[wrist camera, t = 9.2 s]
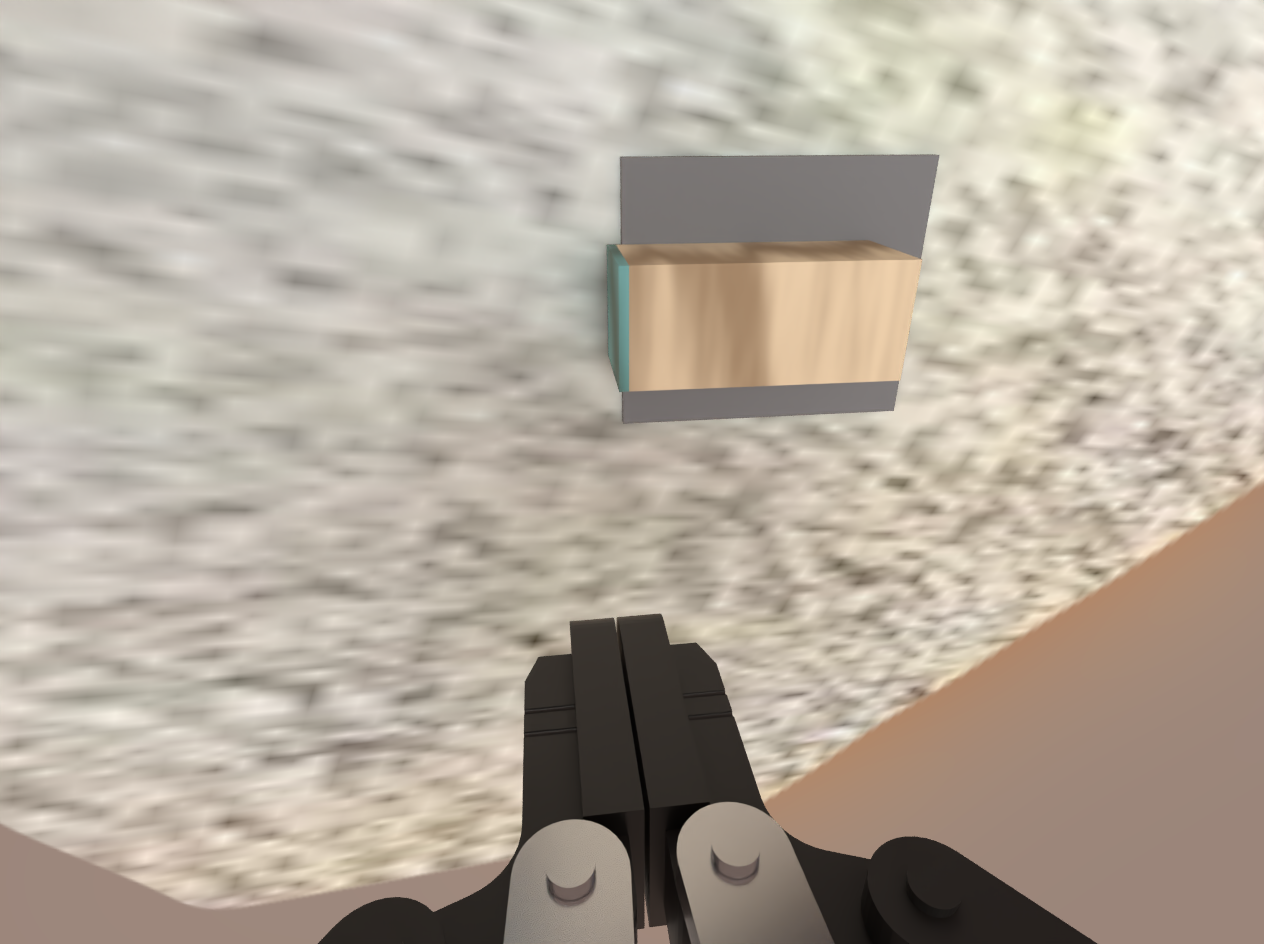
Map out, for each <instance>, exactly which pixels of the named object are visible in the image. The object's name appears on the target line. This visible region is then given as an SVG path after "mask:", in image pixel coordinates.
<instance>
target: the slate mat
mask: <svg viewBox="0 0 1264 944" xmlns="http://www.w3.org/2000/svg"><path fill="white" fill-rule="evenodd" d="M938 160H939V155H813V156H667V157H621V245H626V244H683V243H740V242H796V241H853V240H870V241H872V242H875V243H878V244H881V245H883V246H886V247H889V248H892V249H895V250H897V251H900V252H903V253H906V254H908V255H911V256H914V257H917V258H920V259H921V255H922V250H923V244H924V238H925V233H926V227H927V222H928V216H929V210H930V205H931V199H932V194H933V188H934V182H935V177H936V171H937V166H938ZM898 384H899V381H878V382H853V383H828V384H803V385H778V386H754V387H729V388H704V389H679V390H654V391H630V392H622V412H623V424H624V423H645V422H666V421H687V420H708V419H729V418H750V417H771V416H793V415H814V414H835V413H856V412H877V411H894V406H895V401H896V395H897V389H898Z"/></svg>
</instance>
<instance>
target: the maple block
mask: <svg viewBox="0 0 1264 944" xmlns="http://www.w3.org/2000/svg"><path fill="white" fill-rule="evenodd" d="M921 263H922V259H920V258H917V257H914V256H911V255H908V254H906V253H903V252H900V251H897V250H895V249H892V248H889V247H886V246H883V245H881V244H878V243H875V242H872V241H870V240H853V241H796V242H740V243H683V244H626V245H607V291H608V356H609V359H610V362H611V366H612V369H613V372H614V376H615V379H616V382H617V386H618V389H619V392H630V391H654V390H679V389H704V388H729V387H754V386H778V385H803V384H828V383H853V382H878V381H900V379H901V373H902V368H903V362H904V357H905V351H906V346H907V340H908V335H909V329H910V324H911V318H912V313H913V307H914V302H915V296H916V291H917V285H918V280H919V274H920V269H921Z"/></svg>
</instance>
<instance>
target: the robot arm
mask: <svg viewBox="0 0 1264 944" xmlns="http://www.w3.org/2000/svg"><path fill="white" fill-rule="evenodd" d="M570 635H571V652H572V654H566V655H555V656H544V657H538V659H537V661H536V663H535V665H534V666H533V668H532V670H531V672H530V673H529V675H528V677H527V679H526V681H525V704H524V710H525V715H524V758H523V812H522V832H521V838H520V841H519V845H518V847H517V850H516V852H515V854H514V856H513V857H512V859H511V861H510V862H509V864H508V865H507V866H506V868H505V869H504V870H503V871H502V872H501V874H500V875H499V876H497V878H495V879H494V880H493V881H492V882H491V883H490V884H488V885H487V886H485V887H484V888H482V889H481V890H479V891H477V892H475V893H474V894H472V895H470V896H468V897H466V898H463V899H462V900H459V901H457V902H455V903H452V904H450V905H448V906H446V907H444V908H442V909H440V910H437V911H435V912H432V911H431V910H430V909H429V908H428V907H427V906H425V905H424V904H422V903H420V902H418V901H416V900H412V899H409V898H401V897H393V898H384V899H380V900H376V901H373V902H371V903H368V904H366V905H363V906H362V907H360V908H358V909H356V910H354V911H353V912H351V913H350V914H349V915H347V916H346V917H344V918H343V919H342V920H341V921H340V922H339V923H338V924H336V925H335V926H334V927H333V928H332V929H331V930H330V931H329V932H328V934H327V935H326V936H325V937H324V938H323V939H322V940H321V941H320V942H319V943H318V944H637V929H643V928H644V893H645V900H646V906H647V914H648V921H649V927H655V926H662V925H667V927H668V934H669V940H670V944H1097V943H1096V942H1094V941H1092V940H1091V939H1090V938H1088V937H1086V936H1085V935H1083V934H1082V933H1080V932H1079V931H1077V930H1076V929H1074V928H1073V927H1071V926H1069V925H1068V924H1067V923H1065V922H1063V921H1062V920H1060V919H1059V918H1057V917H1056V916H1054V915H1053V914H1051V913H1050V912H1048V911H1047V910H1045V909H1044V908H1042V907H1041V906H1039V905H1038V904H1036V903H1035V902H1033V901H1031V900H1030V899H1028V898H1027V897H1025V896H1024V895H1022V894H1021V893H1019V892H1018V891H1016V890H1015V889H1013V888H1012V887H1010V886H1009V885H1007V884H1005V883H1004V882H1003V881H1001V880H999V879H998V878H996V877H995V876H993V875H992V874H990V873H989V872H987V871H986V870H984V869H983V868H981V867H979V866H978V865H977V864H975V863H974V862H972V861H970V860H969V859H967V858H966V857H964V856H963V855H961V854H960V853H958V852H957V851H955V850H953V849H951V848H950V847H948V846H946V845H944V844H941V843H939V842H937V841H934V840H930V839H927V838H920V837H900V838H896V839H893V840H890V841H888V842H886V843H884V844H883V845H881V846H880V847H879V848H878V849H877V850H876V851H875V853H874V854H873V856H872V858H871V859H866V858H861V857H856V856H851V855H846V854H840V853H836V852H831V851H826V850H822V849H819V848H815V847H812V846H810V845H808V844H805V843H803V842H801V841H799V840H798V839H796V838H794V837H793V836H791V835H789V834H788V833H787V832H786V831H784V830H783V829H782V828H781V827H780V825H778V823H776V821H774V819H773V818H772V817H771V816H770V814H769V813H768V811H767V809H766V808H765V806H764V804H763V801H762V799H761V796H760V793H759V790H758V787H757V784H756V781H755V778H754V775H753V772H752V769H751V766H750V763H749V760H748V757H747V754H746V751H745V748H744V745H743V742H742V739H741V736H740V733H739V730H738V727H737V724H736V721H735V718H734V717H733V715H732V709H731V706H730V703H729V700H728V697H727V695H726V694H725V688H724V685H723V682H722V679H721V676H720V673H719V670H718V667H717V664H716V663H715V662H714V661H713V660H712V659H711V658H710V657H709V655H708V654H707V653H706V652H705V651H704V650H703V649H702V648H701V647H700V646H699V645H698V644H697V643H687V644H675V645H670V644H669V640H668V636H667V632H666V628H665V624H664V620H663V617H662V615H661V614H650V615H638V616H626V617H617V633H616V627H615V621H614V618H605V619H593V620H581V621H570Z"/></svg>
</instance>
